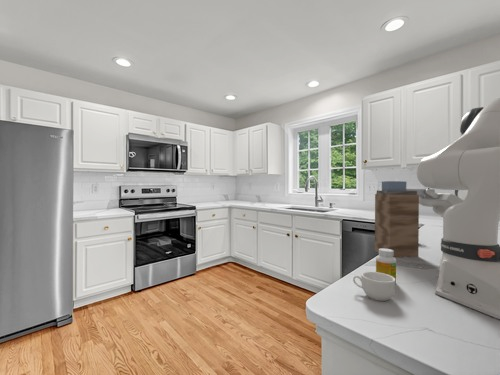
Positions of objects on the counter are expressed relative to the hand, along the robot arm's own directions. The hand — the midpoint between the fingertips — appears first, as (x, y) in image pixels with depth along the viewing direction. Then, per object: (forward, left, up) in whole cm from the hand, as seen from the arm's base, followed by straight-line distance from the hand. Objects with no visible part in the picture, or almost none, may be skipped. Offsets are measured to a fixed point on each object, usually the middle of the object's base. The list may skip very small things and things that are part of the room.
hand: (420, 190), depth 109 cm
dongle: (0, +6, -2) cm, 6 cm away
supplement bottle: (-30, +38, -28) cm, 56 cm away
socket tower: (0, +12, -28) cm, 30 cm away
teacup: (-39, +48, -28) cm, 68 cm away
